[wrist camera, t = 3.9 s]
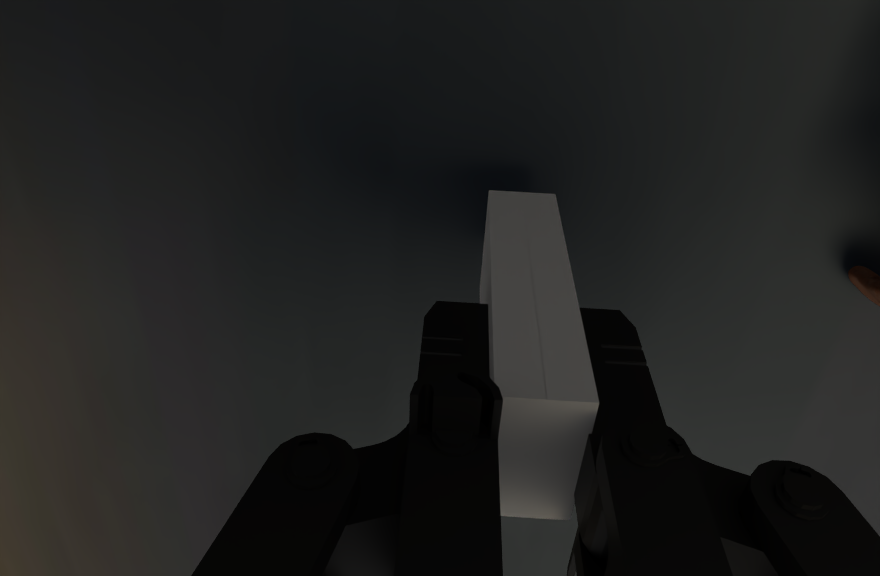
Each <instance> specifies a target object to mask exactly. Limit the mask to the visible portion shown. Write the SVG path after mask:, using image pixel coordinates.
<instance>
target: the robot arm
mask: <svg viewBox="0 0 880 576" xmlns="http://www.w3.org/2000/svg"><path fill="white" fill-rule="evenodd" d="M641 348H642V346H641V343H640V340H639V337H638V333H637V330H636V327H635V326H634V325H633V324H632V323H631V322H630V321H629V320H628V319H627V318H626V317H625V316H624V314H623V313H622V312H621V311H620V310H607V309H591V308H579V304H578V299H577V294H576V290H575V285H574V280H573V275H572V271H571V266H570V261H569V256H568V252H567V247H566V242H565V237H564V233H563V228H562V223H561V218H560V214H559V209H558V204H557V199H556V195H555V194H547V193H529V192H512V191H495V190H489V193H488V204H487V214H486V225H485V236H484V247H483V258H482V269H481V280H480V304H479V303H462V302H446V301H437V302H436V303H435V304H434V305H433V307H432V308H431V309H430V310H429V312H428V313H427V314H426V315H425V317H424V325H423V335H422V344H421V354H420V362H419V371H418V380H417V381H416V382H415V383H414V386H413V388H412V391H411V393H410V420H409V423H408V425H407V427H406V428H405V429H404V430H402V431H401V432H400V433H399V434H398V435H397V436H395V437H393V438H391V439H389V440H387V441H385V442H382V443H379V444H375V445H371V446H367V447H362V448H357V449H353V448H352V447H351V446H350V445H349V444H348V443H347V442H346V441H345V440H343V439H341V438H338V437H336V436H334V435H332V434H323V433H309V434H304V435H299V436H296V437H294V438H292V439H290V440H288V441H286V442H284V443H282V444H281V445H280V446H279V447H278V448H277V449H276V450H275V451H274V452H273V453H272V454H271V455H270V456H269V457H268V459H267V461H266V462H265V464H264V465H263V467H262V468H261V470H260V471H259V473H258V474H257V476H256V477H255V479H254V480H253V482H252V484H251V485H250V487H249V488H248V490H247V491H246V493H245V494H244V496H243V497H242V499H241V500H240V502H239V503H238V505H237V507H236V508H235V510H234V511H233V513H232V514H231V516H230V517H229V519H228V520H227V522H226V523H225V525H224V526H223V528H222V529H221V531H220V533H219V534H218V536H217V537H216V539H215V540H214V542H213V543H212V545H211V546H210V548H209V549H208V551H207V552H206V554H205V556H204V557H203V559H202V560H201V562H200V563H199V565H198V566H197V568H196V569H195V571H194V572H193V574H192V575H191V576H503V567H502V540H501V516H510V517H525V518H540V519H556V520H570V519H571V515H572V511H573V507H574V503H575V506H576V513H577V520H578V529H577V533H576V537H575V541H574V544H573V548H572V552H571V556H570V560H569V563H568V570H567V576H574V575H575V572H577V576H880V536H879V535H878V534H877V533H876V532H875V530H874V529H873V528H872V527H871V525H870V524H869V523H868V522H867V521H866V519H865V518H864V517H863V516H862V515H861V513H860V512H859V511H858V510H857V509H856V507H855V506H854V505H853V504H852V503H851V501H850V500H849V499H848V498H847V497H846V495H845V494H844V493H843V492H842V491H841V490H840V489H839V488H838V487H837V486H836V485H835V484H834V483H833V482H832V481H831V480H830V479H828V478H827V477H826V476H824V475H822V474H821V473H819V472H817V471H815V470H814V469H812V468H810V467H808V466H805V465H802V464H798V463H795V462H792V461H779V460H772V461H769V462H766V463H763V464H760V465H758V467H757V468H756V469H755V470H754V472H753V473H752V474H751V476H749V475H745V474H742V473H739V472H736V471H733V470H730V469H726V468H723V467H720V466H717V465H714V464H712V463H709V462H707V461H704V460H702V459H700V458H698V457H697V456H695V455H693V454H692V452H691V451H690V449H689V447H688V445H687V444H686V442H685V440H684V439H683V438H682V437H681V436H680V435H679V434H677V433H676V432H675V431H674V430H673V429H672V428H670V427H668V426H667V425H666V422H665V419H664V416H663V413H662V410H661V406H660V403H659V400H658V397H657V394H656V391H655V387H654V384H653V381H652V378H651V375H650V372H649V368H648V366H646V363H647V362H646V359H645V356H644V352H643V350H641Z"/></svg>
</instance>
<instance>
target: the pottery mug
mask: <svg viewBox="0 0 880 576" xmlns="http://www.w3.org/2000/svg"><path fill="white" fill-rule="evenodd" d="M848 275H849V279H850V281H851V282H852V283H853V284H854V285H855V286H856V287H857V288H858V289H859V290H860V291H861V292H862V293H863V294H864V295H865V296H866V297H867V298H869V299H870V300H871V301H873V302H874V303H876V304H877V305H879V306H880V276H879V275H877V274H876V273H874V272H873V271H871V270H870V269H868V268H866V267H863V266H854V267H853V268H851V269H850V270H849V272H848Z"/></svg>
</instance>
